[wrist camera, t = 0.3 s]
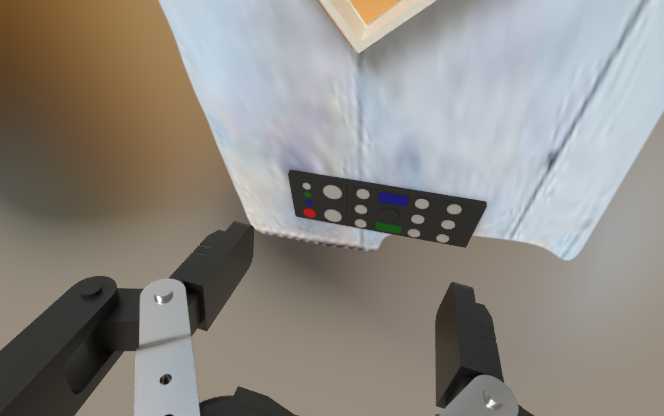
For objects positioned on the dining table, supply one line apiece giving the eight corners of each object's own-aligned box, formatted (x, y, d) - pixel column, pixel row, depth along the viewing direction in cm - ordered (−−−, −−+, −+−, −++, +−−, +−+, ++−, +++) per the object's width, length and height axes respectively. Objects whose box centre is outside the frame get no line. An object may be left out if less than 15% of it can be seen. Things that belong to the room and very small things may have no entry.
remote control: (291, 167, 56) (287, 176, 55) (486, 198, 51) (486, 209, 50) (298, 210, 65) (294, 218, 64) (465, 240, 60) (465, 250, 59)
